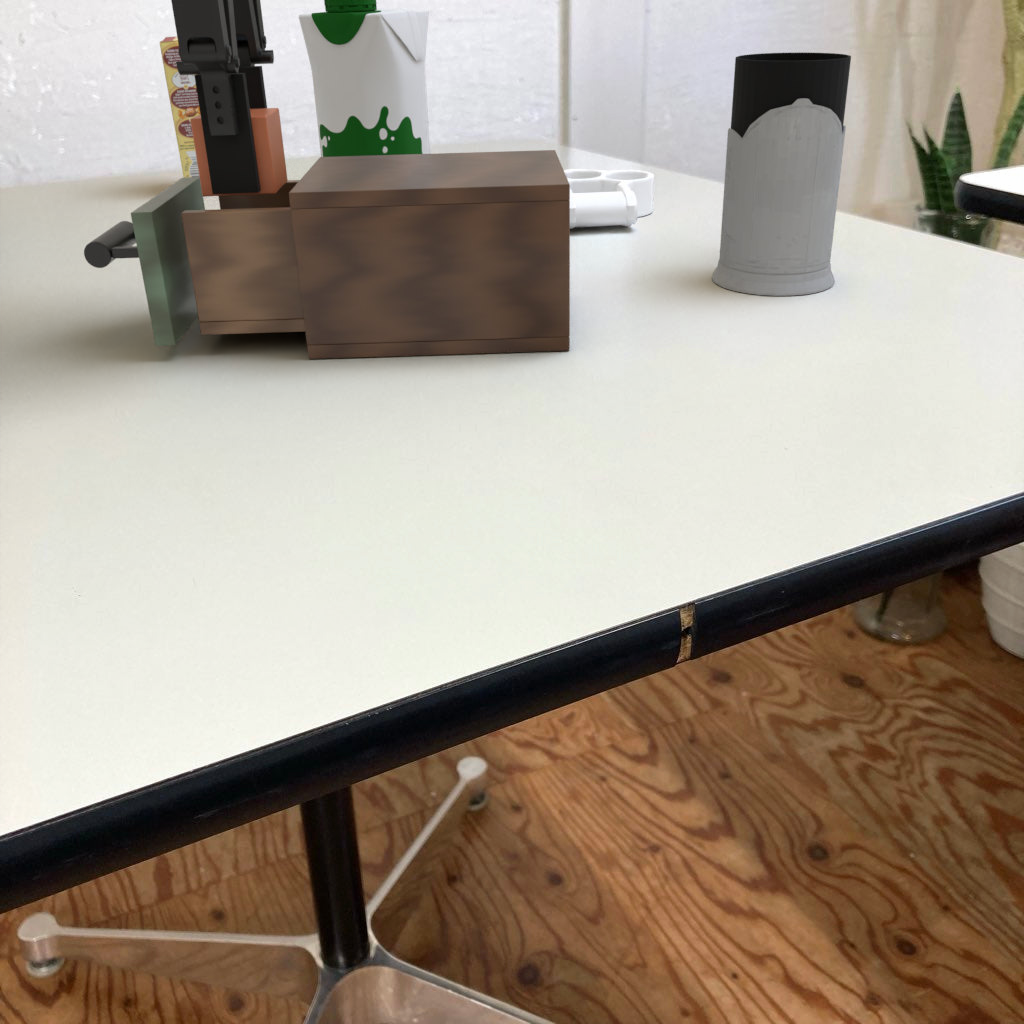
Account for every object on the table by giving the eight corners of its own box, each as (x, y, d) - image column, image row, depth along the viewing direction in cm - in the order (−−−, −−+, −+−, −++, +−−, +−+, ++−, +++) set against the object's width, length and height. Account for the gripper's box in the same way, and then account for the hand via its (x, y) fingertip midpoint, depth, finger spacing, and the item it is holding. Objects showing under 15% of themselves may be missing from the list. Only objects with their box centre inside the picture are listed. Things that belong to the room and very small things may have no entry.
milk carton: (313, 245, 90) (283, -15, 80) (368, 223, 97) (347, -18, 88) (401, 253, 86) (381, -18, 77) (452, 230, 94) (439, -20, 84)
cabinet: (308, 359, 63) (288, 192, 58) (334, 300, 74) (319, 156, 70) (569, 351, 63) (569, 184, 59) (556, 293, 74) (555, 149, 70)
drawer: (85, 348, 63) (56, 215, 59) (141, 295, 73) (119, 179, 69) (397, 338, 63) (387, 205, 59) (409, 287, 73) (400, 170, 70)
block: (202, 196, 62) (189, 118, 60) (218, 183, 66) (207, 110, 64) (275, 194, 62) (265, 116, 60) (287, 181, 66) (279, 107, 64)
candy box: (225, 194, 112) (201, 38, 105) (184, 197, 111) (158, 40, 104) (225, 180, 120) (203, 34, 112) (187, 183, 119) (163, 36, 112)
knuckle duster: (468, 239, 90) (461, 206, 103) (673, 230, 91) (640, 198, 104) (466, 199, 88) (459, 170, 101) (675, 191, 90) (641, 163, 103)
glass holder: (722, 297, 72) (739, 63, 66) (693, 249, 85) (704, 48, 78) (849, 294, 72) (878, 59, 65) (800, 246, 85) (821, 45, 78)
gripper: (214, -331, 46) (282, 211, 56) (281, -254, 61) (325, 160, 72) (43, -326, 46) (143, 215, 56) (154, -250, 61) (216, 163, 72)
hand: (245, 183), depth 64 cm, fingers closed on block, 4 cm apart
